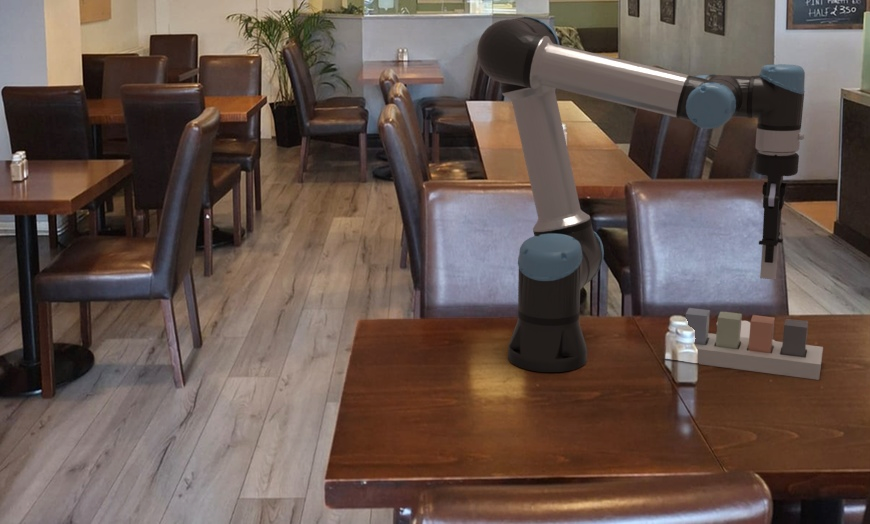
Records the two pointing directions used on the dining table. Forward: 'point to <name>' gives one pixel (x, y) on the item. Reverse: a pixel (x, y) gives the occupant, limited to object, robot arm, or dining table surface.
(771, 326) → the key terracotta
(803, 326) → the key charcoal
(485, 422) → the dining table surface
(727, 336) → the key sage
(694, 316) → the key slate
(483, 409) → the dining table surface
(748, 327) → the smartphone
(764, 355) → the grey block holder
